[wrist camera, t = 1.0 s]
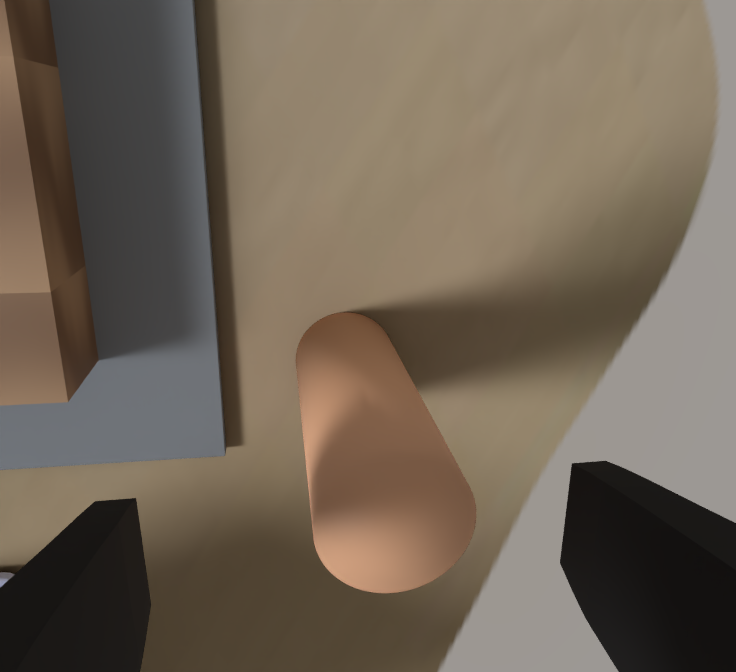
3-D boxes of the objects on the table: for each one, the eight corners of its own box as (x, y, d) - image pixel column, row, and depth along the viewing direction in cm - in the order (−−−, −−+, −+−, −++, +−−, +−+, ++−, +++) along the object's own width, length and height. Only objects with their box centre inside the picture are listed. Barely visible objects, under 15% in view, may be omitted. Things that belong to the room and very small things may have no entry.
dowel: (392, 401, 21) (470, 585, 13) (297, 406, 21) (314, 599, 12) (394, 310, 20) (481, 446, 12) (294, 314, 20) (310, 457, 11)
